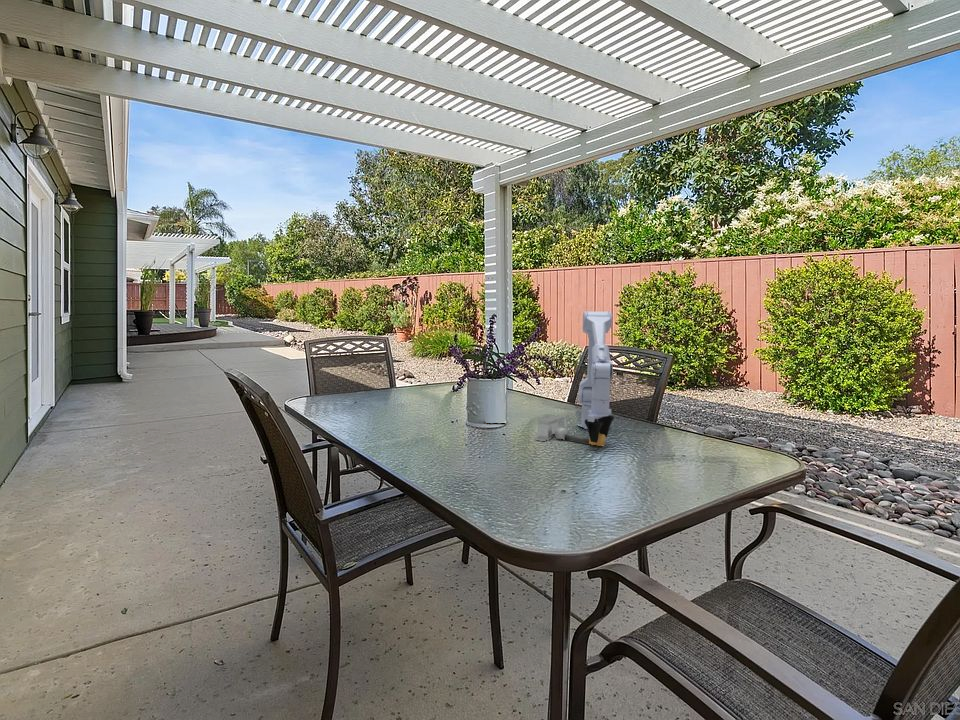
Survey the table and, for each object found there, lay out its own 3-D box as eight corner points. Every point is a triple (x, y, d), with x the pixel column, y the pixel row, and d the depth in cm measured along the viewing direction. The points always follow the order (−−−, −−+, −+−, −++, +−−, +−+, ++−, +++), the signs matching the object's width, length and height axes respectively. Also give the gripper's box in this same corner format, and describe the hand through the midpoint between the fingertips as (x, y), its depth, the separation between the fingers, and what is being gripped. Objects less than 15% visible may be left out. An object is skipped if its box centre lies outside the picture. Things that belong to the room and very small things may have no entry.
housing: (533, 440, 187) (534, 421, 186) (557, 431, 199) (557, 414, 199) (544, 442, 185) (544, 423, 184) (566, 433, 197) (567, 415, 196)
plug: (555, 440, 188) (554, 428, 187) (560, 436, 191) (560, 425, 190) (600, 448, 178) (600, 436, 178) (605, 444, 182) (605, 432, 181)
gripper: (598, 394, 187) (596, 433, 189) (579, 400, 176) (577, 442, 177) (617, 396, 183) (616, 436, 185) (600, 403, 172) (598, 445, 173)
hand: (598, 439), depth 181 cm, fingers open, 7 cm apart
